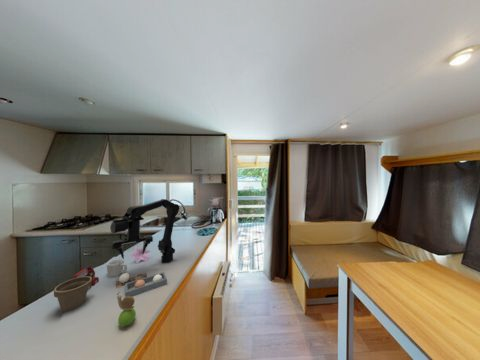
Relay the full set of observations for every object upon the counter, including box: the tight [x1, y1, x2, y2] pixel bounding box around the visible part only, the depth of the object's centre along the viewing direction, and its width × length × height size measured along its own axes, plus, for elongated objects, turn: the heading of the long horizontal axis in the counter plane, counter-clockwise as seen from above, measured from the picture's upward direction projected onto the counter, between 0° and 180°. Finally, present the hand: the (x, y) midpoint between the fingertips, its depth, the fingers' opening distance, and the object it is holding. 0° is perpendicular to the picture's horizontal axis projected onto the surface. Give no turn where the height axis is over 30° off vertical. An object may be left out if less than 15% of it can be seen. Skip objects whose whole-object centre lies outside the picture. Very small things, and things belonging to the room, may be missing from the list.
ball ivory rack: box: [118, 272, 130, 283], centre depth 85 cm, size 4×4×4 cm
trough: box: [124, 272, 168, 298], centre depth 81 cm, size 18×8×4 cm, turn 127°
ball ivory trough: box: [152, 273, 163, 283], centre depth 84 cm, size 4×4×4 cm
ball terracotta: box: [133, 280, 146, 289], centre depth 80 cm, size 4×4×4 cm
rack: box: [115, 272, 148, 289], centre depth 87 cm, size 14×7×2 cm, turn 127°
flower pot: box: [53, 276, 92, 313], centre depth 69 cm, size 12×11×10 cm
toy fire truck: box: [72, 265, 99, 291], centre depth 81 cm, size 7×12×10 cm, turn 9°
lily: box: [128, 245, 152, 264], centre depth 111 cm, size 12×12×10 cm
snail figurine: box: [116, 291, 137, 328], centre depth 61 cm, size 5×6×12 cm
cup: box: [106, 258, 128, 278], centre depth 93 cm, size 11×8×8 cm
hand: (133, 256), depth 91 cm, fingers open, 9 cm apart
